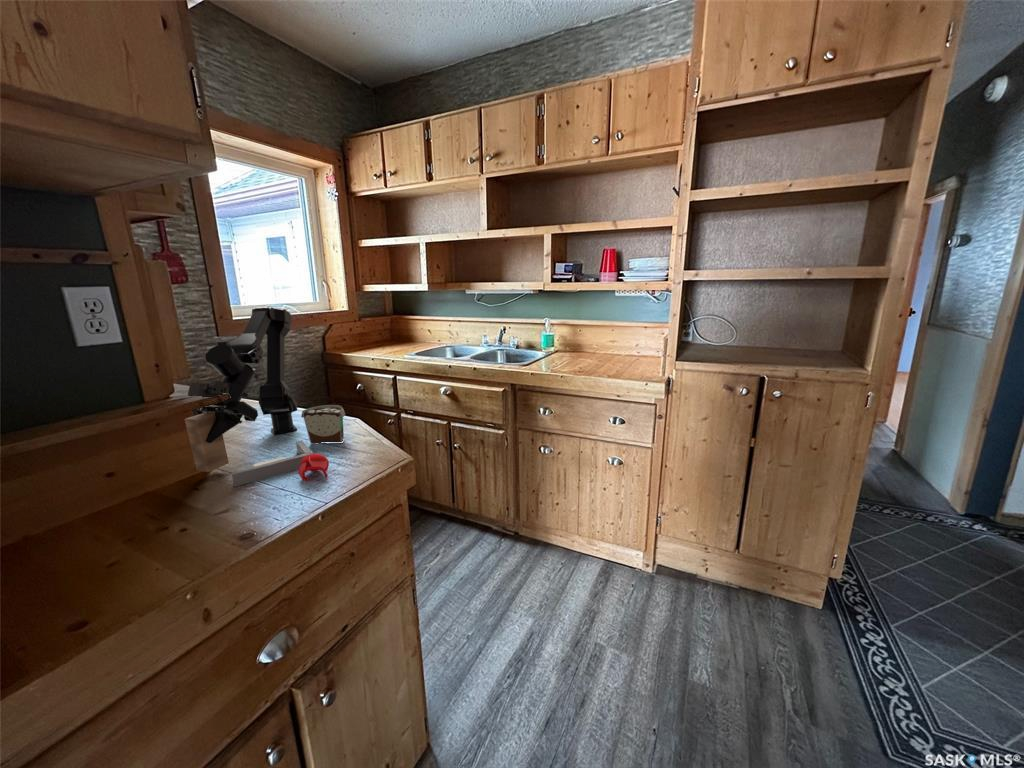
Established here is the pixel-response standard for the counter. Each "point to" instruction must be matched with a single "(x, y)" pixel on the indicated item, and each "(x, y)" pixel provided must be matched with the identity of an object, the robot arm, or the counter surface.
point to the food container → (324, 423)
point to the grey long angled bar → (271, 467)
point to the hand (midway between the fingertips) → (201, 441)
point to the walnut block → (205, 443)
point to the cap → (313, 465)
